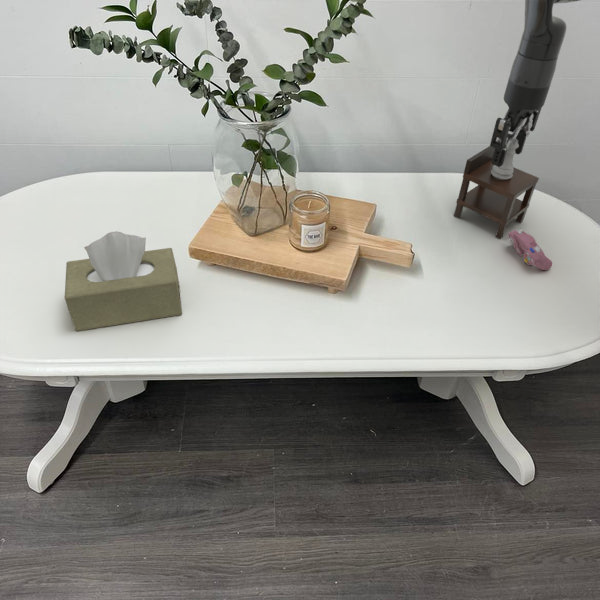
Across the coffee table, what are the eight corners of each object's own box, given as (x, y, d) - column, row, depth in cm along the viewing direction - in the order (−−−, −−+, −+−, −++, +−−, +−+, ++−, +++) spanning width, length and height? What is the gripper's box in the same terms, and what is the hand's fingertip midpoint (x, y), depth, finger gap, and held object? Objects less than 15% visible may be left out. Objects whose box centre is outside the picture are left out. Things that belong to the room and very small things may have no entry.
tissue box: (178, 280, 109) (167, 210, 99) (184, 314, 103) (173, 244, 92) (75, 295, 106) (52, 224, 95) (74, 332, 99) (49, 260, 88)
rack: (523, 221, 127) (543, 164, 118) (500, 239, 122) (519, 182, 112) (477, 199, 133) (492, 144, 124) (452, 216, 128) (466, 159, 118)
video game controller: (507, 250, 121) (502, 229, 116) (526, 239, 121) (522, 217, 116) (534, 280, 115) (530, 258, 110) (555, 268, 114) (551, 246, 109)
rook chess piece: (486, 171, 121) (496, 136, 115) (503, 168, 122) (514, 133, 117) (498, 182, 118) (509, 146, 112) (516, 178, 119) (528, 143, 114)
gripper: (529, 95, 100) (504, 178, 112) (567, 74, 108) (539, 153, 119) (492, 82, 104) (471, 163, 115) (530, 63, 112) (507, 141, 123)
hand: (506, 158), depth 117 cm, fingers open, 7 cm apart
